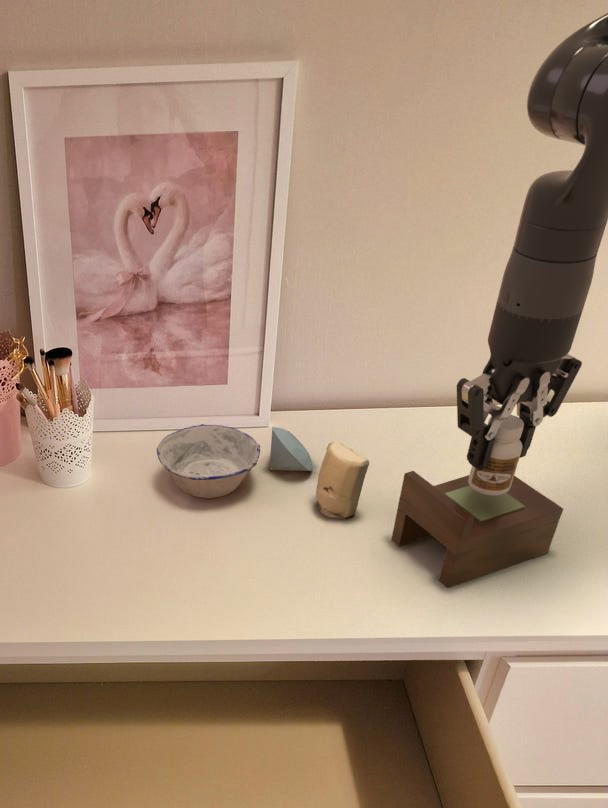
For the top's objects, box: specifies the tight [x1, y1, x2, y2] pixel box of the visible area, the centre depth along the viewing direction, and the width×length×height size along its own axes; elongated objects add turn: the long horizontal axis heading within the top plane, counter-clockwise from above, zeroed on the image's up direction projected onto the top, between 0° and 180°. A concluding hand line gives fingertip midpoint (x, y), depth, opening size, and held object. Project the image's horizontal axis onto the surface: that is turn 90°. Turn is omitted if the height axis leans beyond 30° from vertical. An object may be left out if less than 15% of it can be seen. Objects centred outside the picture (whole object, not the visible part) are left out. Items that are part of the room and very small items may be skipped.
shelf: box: [390, 470, 564, 589], centre depth 97 cm, size 14×10×9 cm
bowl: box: [156, 423, 261, 499], centre depth 110 cm, size 13×13×5 cm
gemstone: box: [269, 426, 313, 472], centre depth 112 cm, size 8×8×5 cm
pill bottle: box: [468, 414, 524, 495], centre depth 92 cm, size 4×4×8 cm
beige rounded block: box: [315, 441, 370, 520], centre depth 103 cm, size 6×5×8 cm
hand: (496, 459), depth 92 cm, fingers closed on pill bottle, 4 cm apart
